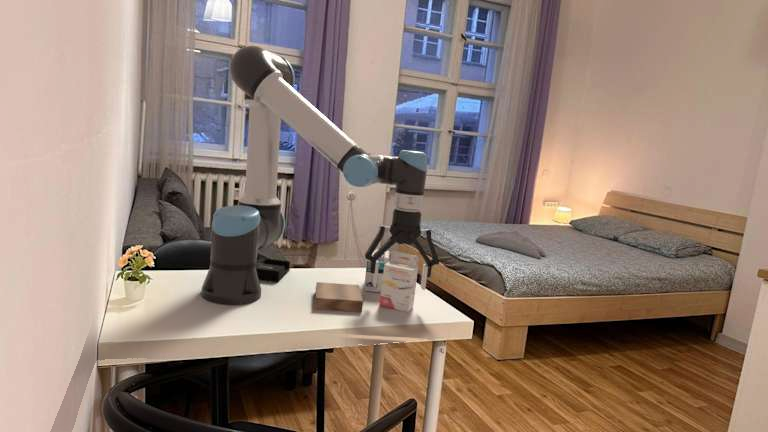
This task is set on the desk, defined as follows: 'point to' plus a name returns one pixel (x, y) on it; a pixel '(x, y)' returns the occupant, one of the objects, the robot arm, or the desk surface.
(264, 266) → the battery charger
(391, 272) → the ink cartridge box
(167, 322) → the desk surface
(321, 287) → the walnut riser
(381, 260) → the light bulb box
